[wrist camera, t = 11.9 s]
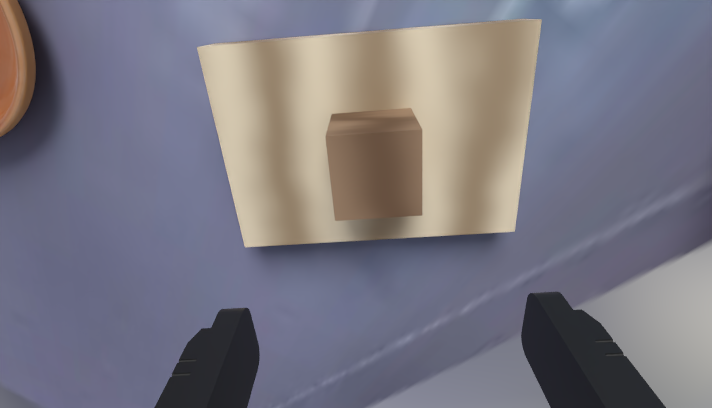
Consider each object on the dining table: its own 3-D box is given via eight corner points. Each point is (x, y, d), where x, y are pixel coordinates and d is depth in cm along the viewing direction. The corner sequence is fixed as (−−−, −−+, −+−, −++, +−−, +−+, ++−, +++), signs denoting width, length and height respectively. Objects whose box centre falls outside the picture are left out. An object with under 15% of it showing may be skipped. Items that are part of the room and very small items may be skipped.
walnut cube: (339, 185, 26) (335, 221, 22) (331, 113, 24) (325, 136, 20) (411, 181, 26) (422, 215, 22) (410, 107, 24) (422, 129, 20)
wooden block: (254, 227, 32) (244, 247, 29) (214, 43, 25) (197, 47, 23) (501, 212, 31) (514, 231, 28) (521, 18, 24) (541, 19, 22)
